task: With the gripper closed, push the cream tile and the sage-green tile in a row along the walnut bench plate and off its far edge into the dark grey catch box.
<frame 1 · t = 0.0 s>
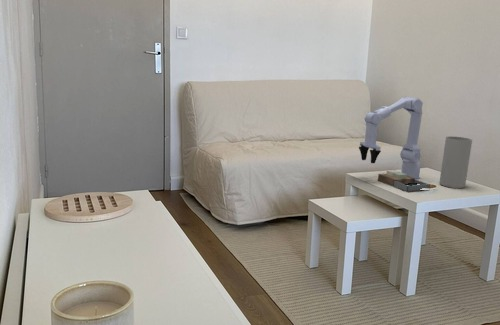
hand: (368, 161, 248), 10 cm above the table, fingers open, 7 cm apart
cylinder vase: (451, 185, 249), on the table
bench plate: (395, 182, 249), on the table
tile sage: (399, 177, 246), point 3 cm above the table, touching bench plate
tile cream: (393, 174, 250), point 3 cm above the table, touching bench plate
catch box: (411, 188, 238), on the table
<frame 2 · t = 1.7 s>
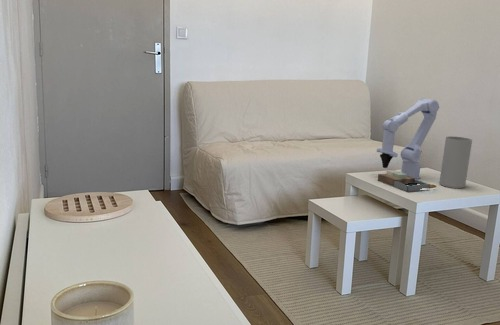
hand: (385, 167, 256), 6 cm above the table, fingers closed
nothing on the table moved.
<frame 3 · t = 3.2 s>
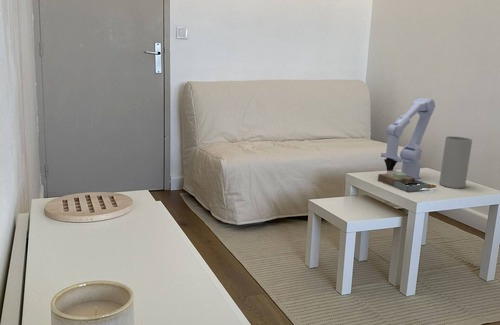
hand: (389, 172, 253), 4 cm above the table, fingers closed
tile cream: (393, 175, 250), point 3 cm above the table, touching bench plate, gripper
everything else where it was.
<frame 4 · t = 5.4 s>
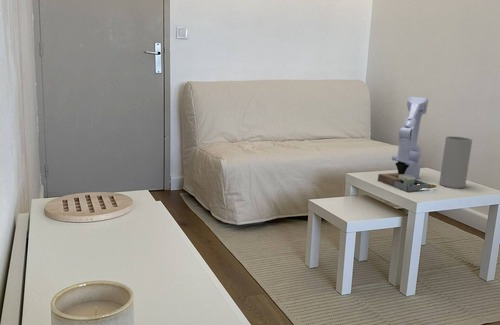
hand: (400, 176, 245), 4 cm above the table, fingers closed
tile sage: (407, 180, 240), point 3 cm above the table, tilted 109°, touching catch box, tile cream
tile cream: (404, 179, 242), point 3 cm above the table, tilted 5°, touching gripper, tile sage
everything else where it was.
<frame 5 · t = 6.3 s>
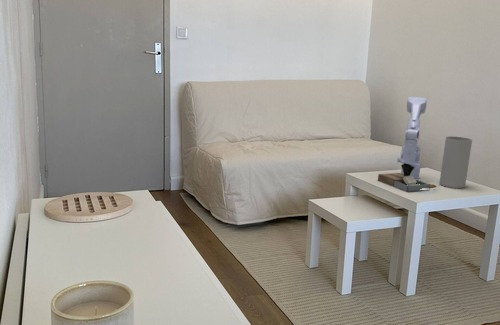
hand: (406, 178, 241), 4 cm above the table, fingers closed, pressing on tile cream
tile sage: (415, 184, 236), point 3 cm above the table, tilted 180°, touching catch box, tile cream
tile cream: (408, 181, 240), point 3 cm above the table, tilted 33°, touching gripper, tile sage
everything else where it was.
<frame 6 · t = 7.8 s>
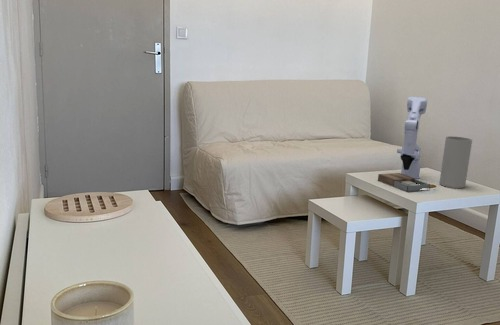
hand: (406, 169, 241), 8 cm above the table, fingers closed
tile sage: (415, 184, 236), point 2 cm above the table, tilted 180°, touching catch box
tile cream: (408, 186, 241), resting on catch box
everything else where it was.
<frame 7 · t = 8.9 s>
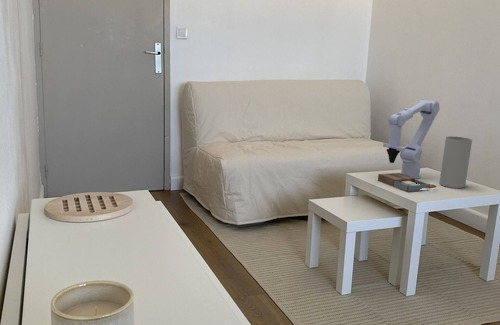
hand: (391, 162, 252), 9 cm above the table, fingers closed
nothing on the table moved.
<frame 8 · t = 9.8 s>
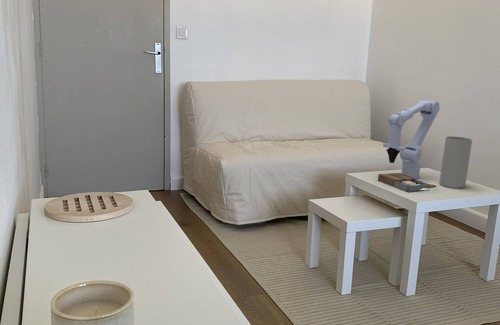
hand: (391, 162, 252), 9 cm above the table, fingers closed
nothing on the table moved.
at the end: tile sage inside the target area on the catch box (2.4 cm from its centre), point 2.5 cm above the catch box's base; tile cream inside the target area on the catch box (2.5 cm from its centre), point 0.5 cm above the catch box's base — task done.
